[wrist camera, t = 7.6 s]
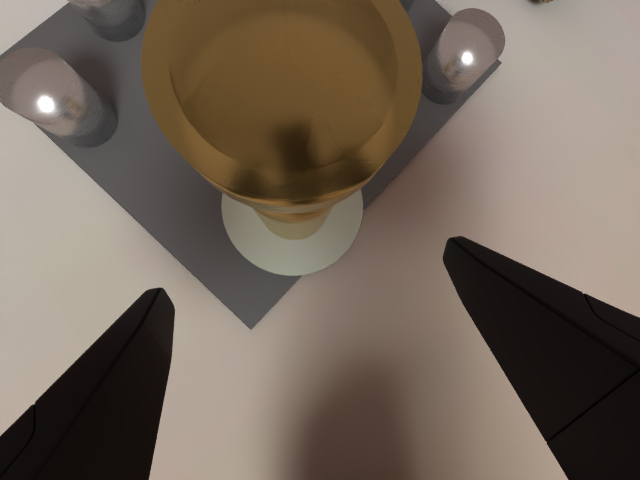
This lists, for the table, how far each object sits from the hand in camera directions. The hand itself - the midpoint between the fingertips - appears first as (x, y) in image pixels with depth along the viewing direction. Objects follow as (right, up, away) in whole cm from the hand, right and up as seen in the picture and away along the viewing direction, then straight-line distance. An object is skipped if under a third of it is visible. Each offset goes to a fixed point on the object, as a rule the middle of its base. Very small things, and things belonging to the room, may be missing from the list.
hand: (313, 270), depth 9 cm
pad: (-2, +3, +10) cm, 11 cm away
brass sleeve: (-1, +3, +9) cm, 10 cm away
